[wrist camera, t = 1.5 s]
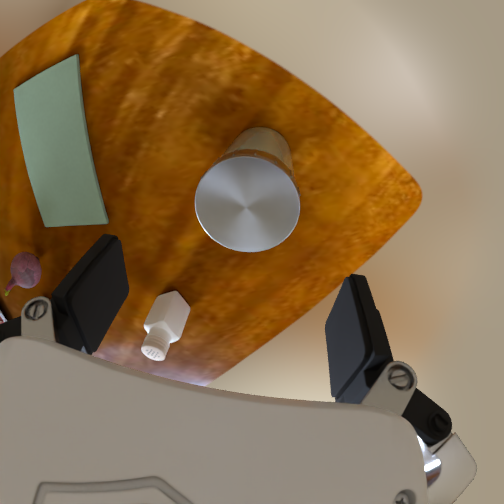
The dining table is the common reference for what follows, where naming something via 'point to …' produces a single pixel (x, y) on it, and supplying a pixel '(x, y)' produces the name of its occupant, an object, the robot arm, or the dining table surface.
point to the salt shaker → (164, 324)
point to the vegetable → (24, 271)
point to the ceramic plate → (2, 318)
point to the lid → (248, 201)
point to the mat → (59, 146)
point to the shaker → (263, 144)
